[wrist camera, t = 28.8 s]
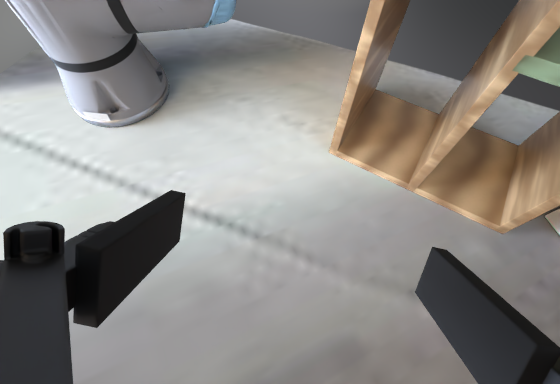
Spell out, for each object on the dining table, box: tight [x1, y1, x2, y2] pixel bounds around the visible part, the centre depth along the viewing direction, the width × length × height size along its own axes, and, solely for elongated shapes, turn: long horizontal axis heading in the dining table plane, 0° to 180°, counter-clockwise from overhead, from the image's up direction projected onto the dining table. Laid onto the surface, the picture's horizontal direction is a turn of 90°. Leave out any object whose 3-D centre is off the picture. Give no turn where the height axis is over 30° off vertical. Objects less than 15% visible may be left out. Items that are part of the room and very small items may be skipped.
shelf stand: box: [329, 0, 560, 234], centre depth 30 cm, size 25×15×30 cm, turn 59°
